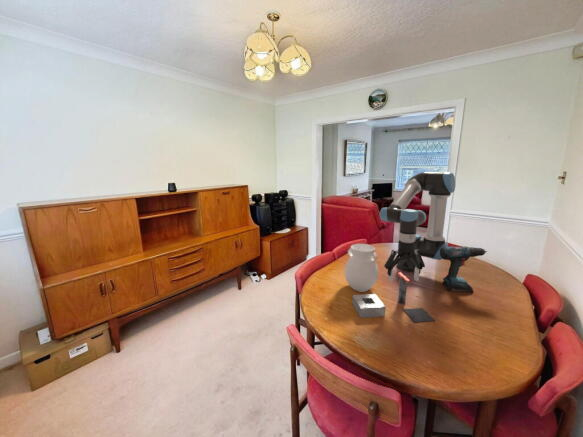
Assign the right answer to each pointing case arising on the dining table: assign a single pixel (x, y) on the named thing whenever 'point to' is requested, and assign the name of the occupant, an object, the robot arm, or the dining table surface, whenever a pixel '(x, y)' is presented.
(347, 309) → the dining table surface
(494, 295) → the dining table surface
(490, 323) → the dining table surface
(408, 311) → the mat
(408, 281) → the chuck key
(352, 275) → the white vase
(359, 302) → the block
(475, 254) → the power drill
